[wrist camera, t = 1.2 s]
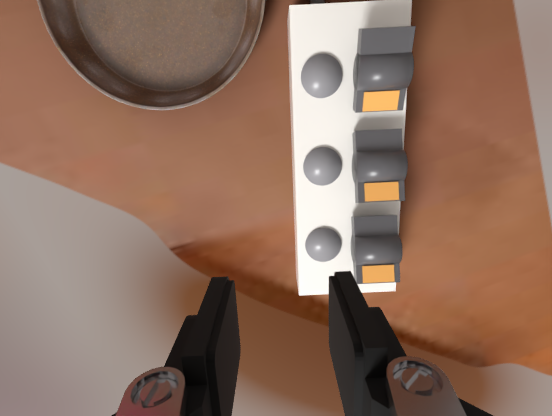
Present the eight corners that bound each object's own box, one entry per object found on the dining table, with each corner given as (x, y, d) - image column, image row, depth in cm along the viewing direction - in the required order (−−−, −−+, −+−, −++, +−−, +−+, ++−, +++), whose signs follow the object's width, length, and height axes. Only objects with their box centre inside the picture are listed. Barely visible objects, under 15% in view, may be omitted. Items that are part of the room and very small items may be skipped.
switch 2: (349, 216, 29) (356, 217, 26) (389, 214, 29) (400, 215, 26) (352, 279, 29) (359, 286, 26) (392, 277, 29) (403, 284, 26)
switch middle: (350, 135, 27) (357, 128, 24) (393, 133, 27) (405, 125, 24) (353, 203, 27) (361, 203, 24) (396, 201, 27) (409, 200, 24)
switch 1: (355, 28, 24) (364, 29, 21) (405, 25, 23) (420, 26, 21) (350, 107, 26) (357, 115, 24) (395, 104, 26) (406, 113, 24)
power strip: (283, -87, 26) (285, -125, 22) (397, -94, 26) (420, -133, 22) (296, 275, 34) (299, 296, 30) (381, 271, 34) (396, 292, 30)
